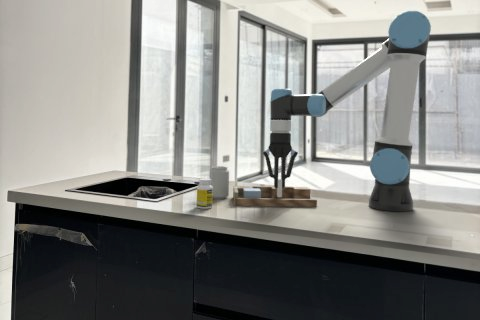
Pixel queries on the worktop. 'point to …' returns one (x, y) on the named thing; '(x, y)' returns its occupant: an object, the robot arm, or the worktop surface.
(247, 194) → the block
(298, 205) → the box
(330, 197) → the worktop surface
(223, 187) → the can
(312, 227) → the worktop surface
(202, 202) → the supplement bottle
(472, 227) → the worktop surface
